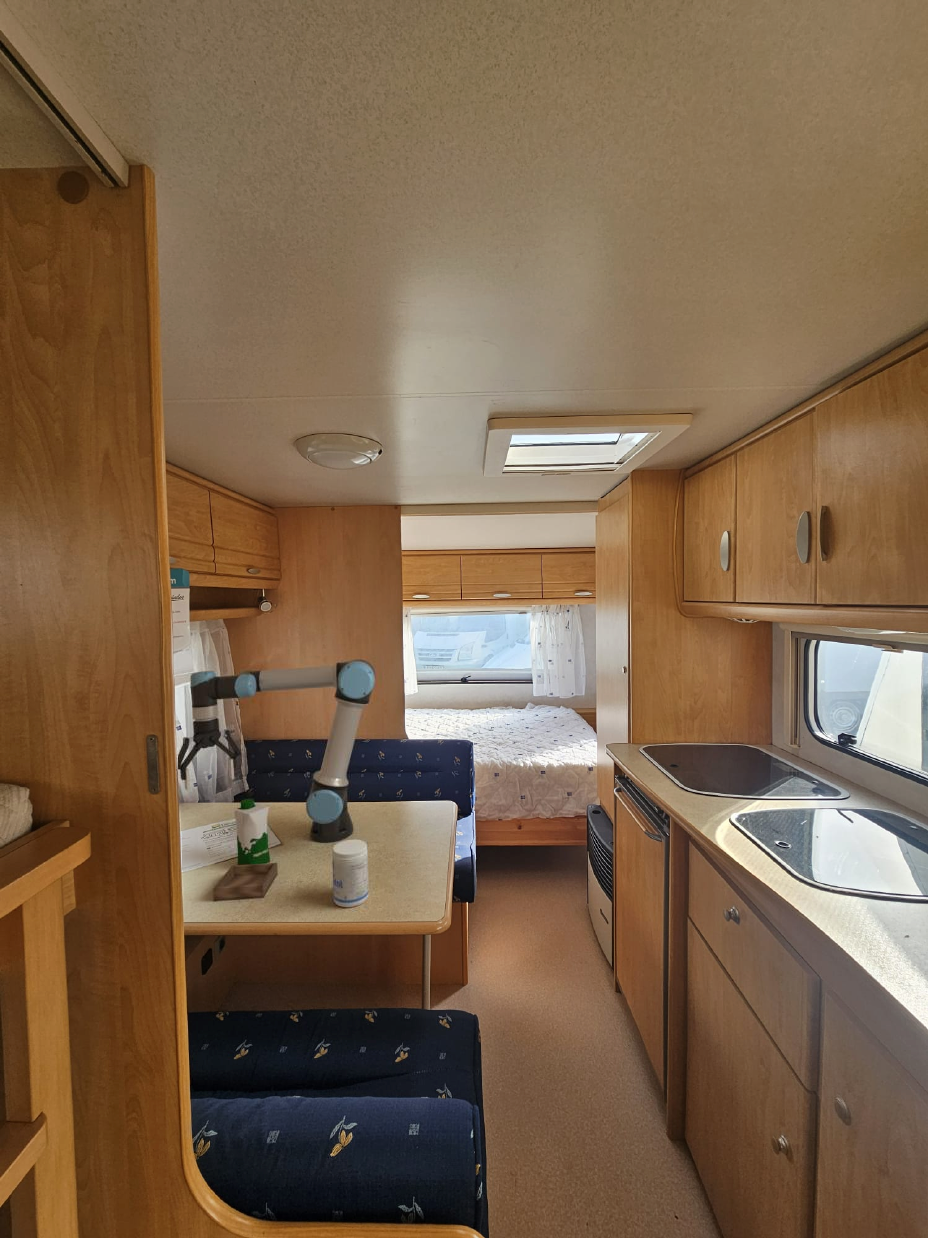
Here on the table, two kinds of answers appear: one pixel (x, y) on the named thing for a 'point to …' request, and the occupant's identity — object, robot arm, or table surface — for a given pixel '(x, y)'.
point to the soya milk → (252, 833)
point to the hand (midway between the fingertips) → (210, 783)
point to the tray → (245, 882)
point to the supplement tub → (350, 873)
